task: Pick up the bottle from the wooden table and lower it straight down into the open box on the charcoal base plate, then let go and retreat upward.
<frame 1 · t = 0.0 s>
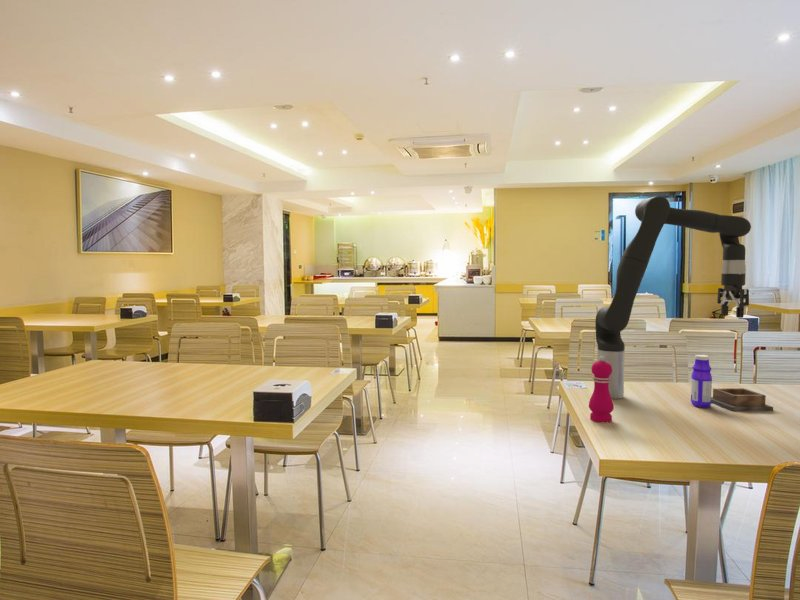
hand: (732, 316, 194), 29 cm above the table, fingers open, 8 cm apart
pepper mill: (600, 420, 164), on the table
open box: (738, 405, 181), on the table
bottle: (700, 406, 181), on the table
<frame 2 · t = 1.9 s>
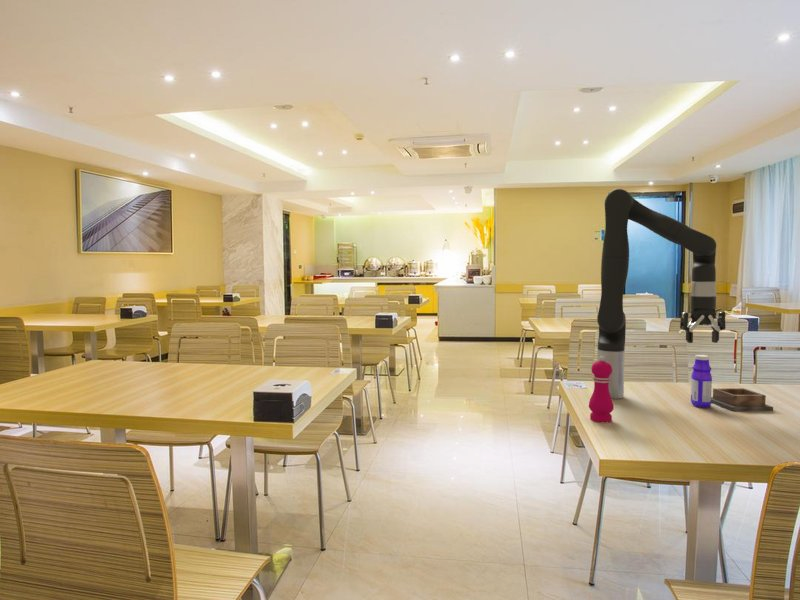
hand: (702, 342, 179), 22 cm above the table, fingers open, 8 cm apart
nothing on the table moved.
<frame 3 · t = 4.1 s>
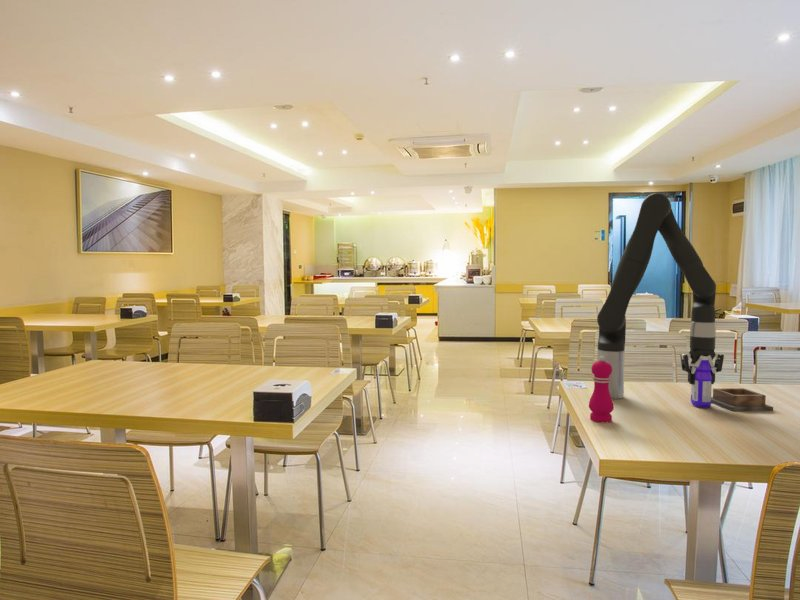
hand: (701, 383, 180), 8 cm above the table, fingers closed on bottle, 6 cm apart
bottle: (700, 406, 181), on the table, touching gripper
everything else where it was.
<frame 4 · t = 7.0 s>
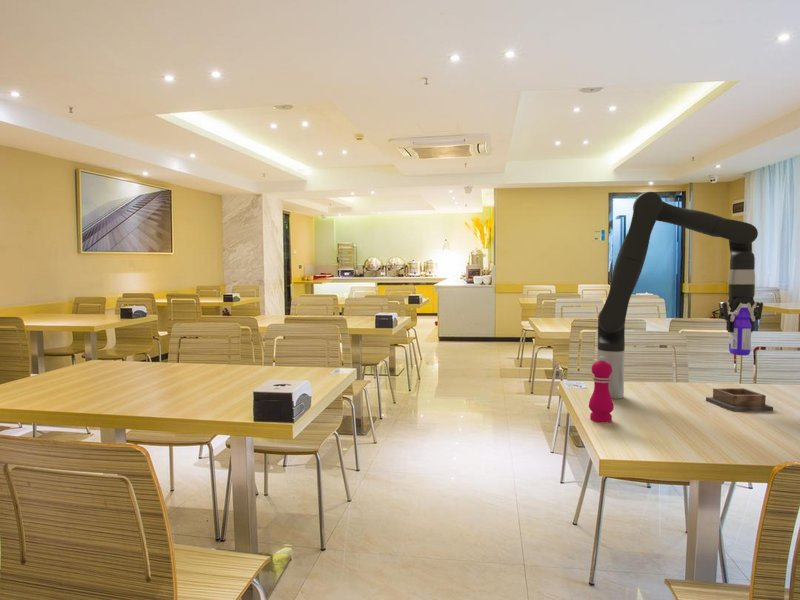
hand: (740, 332, 179), 25 cm above the table, fingers closed on bottle, 6 cm apart
bottle: (739, 354, 180), point 17 cm above the table, touching gripper
everything else where it was.
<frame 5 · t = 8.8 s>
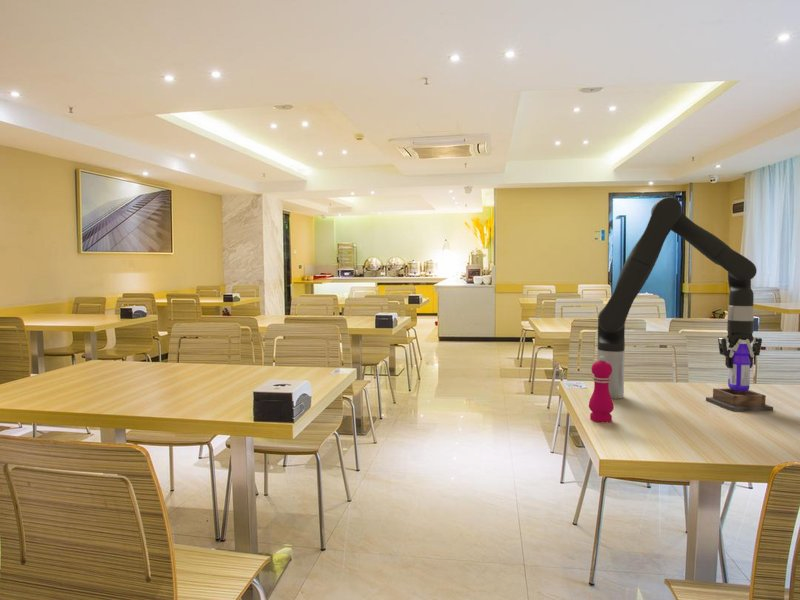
hand: (739, 367, 180), 13 cm above the table, fingers closed on bottle, 6 cm apart
bottle: (738, 390, 180), point 5 cm above the table, touching gripper
everything else where it was.
when the fingers open (10 cm above the table, at t = 10.0 s): bottle stays where it is, resting on open box.
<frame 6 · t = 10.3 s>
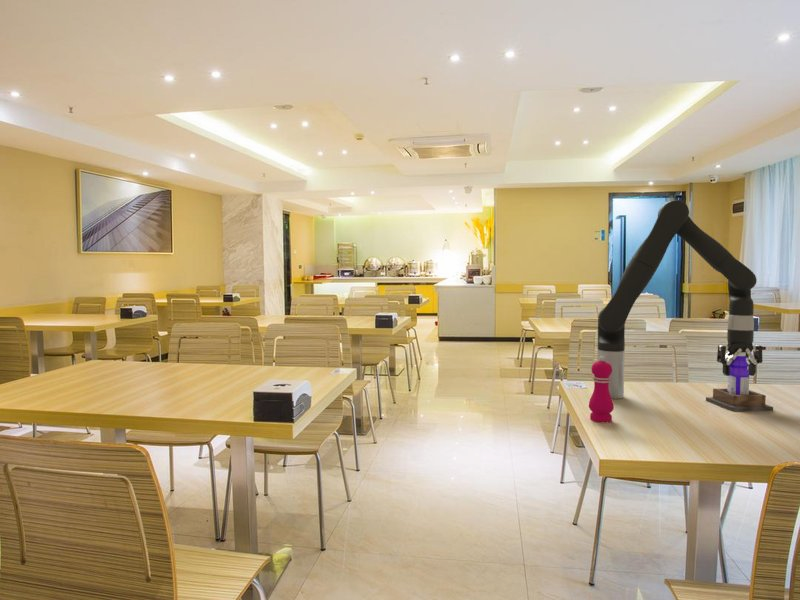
hand: (739, 375, 180), 10 cm above the table, fingers open, 8 cm apart
bottle: (737, 402, 181), point 1 cm above the table, touching open box
everything else where it was.
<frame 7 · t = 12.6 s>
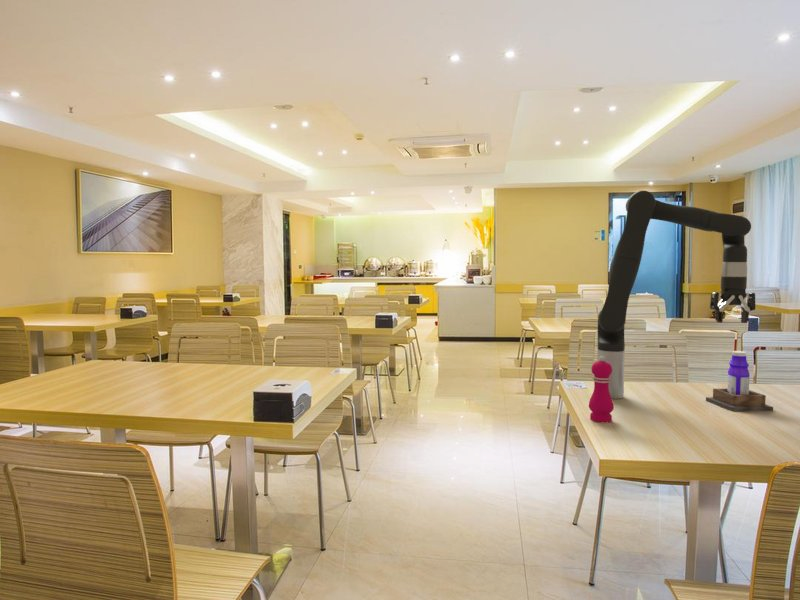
hand: (731, 322, 182), 28 cm above the table, fingers open, 8 cm apart
nothing on the table moved.
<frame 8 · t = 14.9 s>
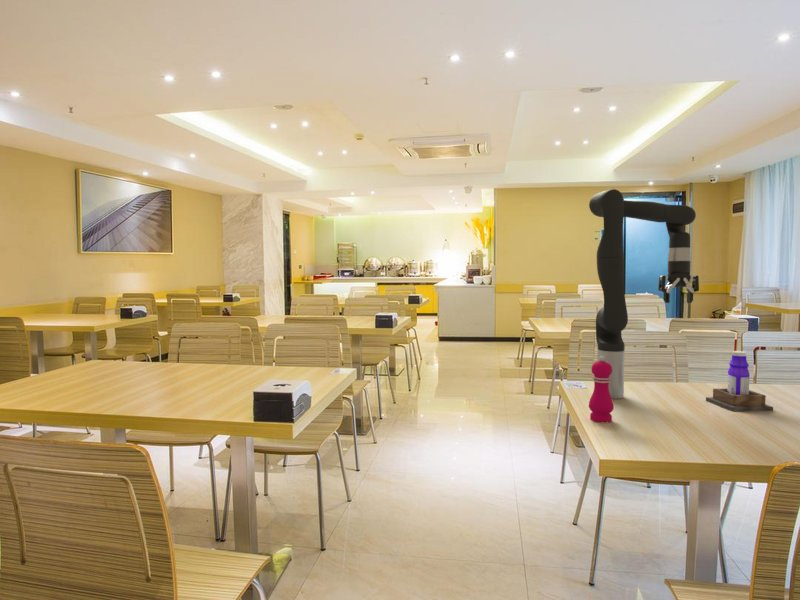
hand: (678, 302, 200), 34 cm above the table, fingers open, 8 cm apart
nothing on the table moved.
at the end: bottle 0.2 cm off-centre on the open box, point 1.0 cm above the open box's base; bottle tilted 0°; the gripper is holding nothing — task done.
